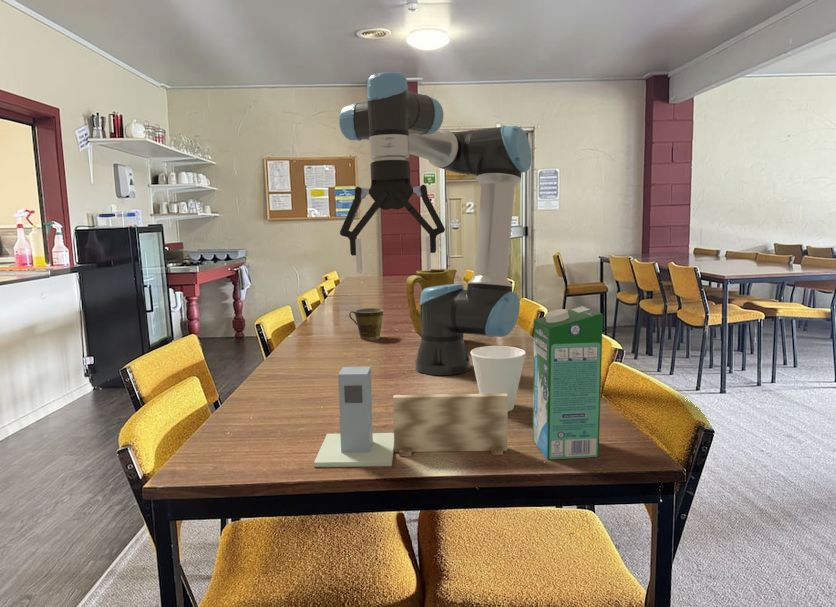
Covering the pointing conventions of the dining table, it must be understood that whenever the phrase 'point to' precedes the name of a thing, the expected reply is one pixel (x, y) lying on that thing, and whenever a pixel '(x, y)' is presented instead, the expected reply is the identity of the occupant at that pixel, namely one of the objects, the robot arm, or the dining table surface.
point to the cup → (498, 370)
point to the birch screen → (450, 423)
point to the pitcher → (426, 280)
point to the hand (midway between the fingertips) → (394, 271)
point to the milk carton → (567, 383)
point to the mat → (376, 457)
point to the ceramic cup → (368, 322)
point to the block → (355, 409)
